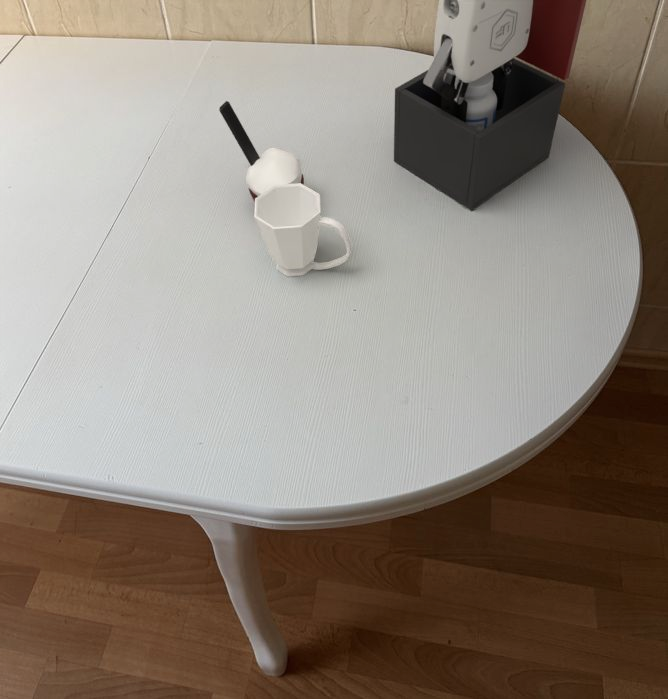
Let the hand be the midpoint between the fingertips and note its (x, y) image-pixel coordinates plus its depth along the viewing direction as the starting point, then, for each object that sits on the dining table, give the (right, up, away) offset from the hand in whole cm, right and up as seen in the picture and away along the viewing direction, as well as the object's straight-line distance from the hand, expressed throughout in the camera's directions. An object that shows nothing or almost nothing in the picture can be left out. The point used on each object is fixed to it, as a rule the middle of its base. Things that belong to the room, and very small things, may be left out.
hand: (471, 115), depth 79 cm
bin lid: (+5, +11, -6) cm, 13 cm away
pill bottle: (0, -3, +4) cm, 5 cm away
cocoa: (-22, -10, +3) cm, 24 cm away
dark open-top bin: (+1, -3, +6) cm, 7 cm away
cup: (-18, -17, -3) cm, 25 cm away
